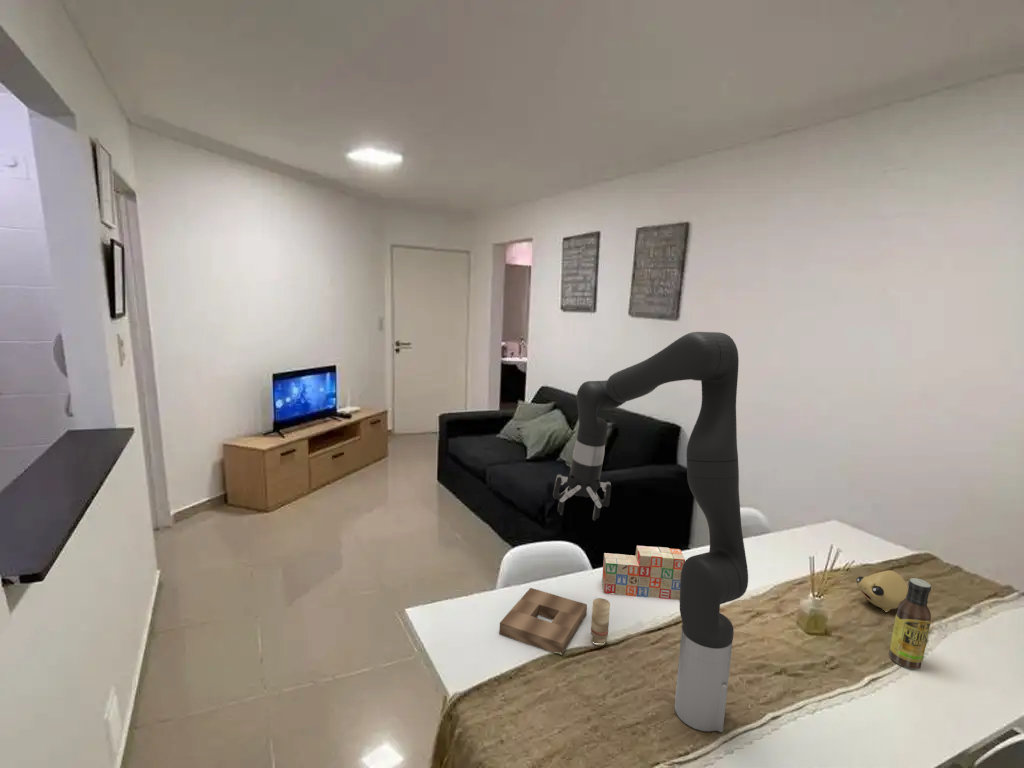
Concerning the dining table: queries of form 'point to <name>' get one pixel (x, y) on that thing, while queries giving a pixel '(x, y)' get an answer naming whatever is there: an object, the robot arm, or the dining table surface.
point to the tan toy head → (883, 589)
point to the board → (540, 632)
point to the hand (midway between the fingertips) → (577, 516)
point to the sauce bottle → (911, 626)
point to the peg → (600, 620)
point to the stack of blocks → (644, 573)
